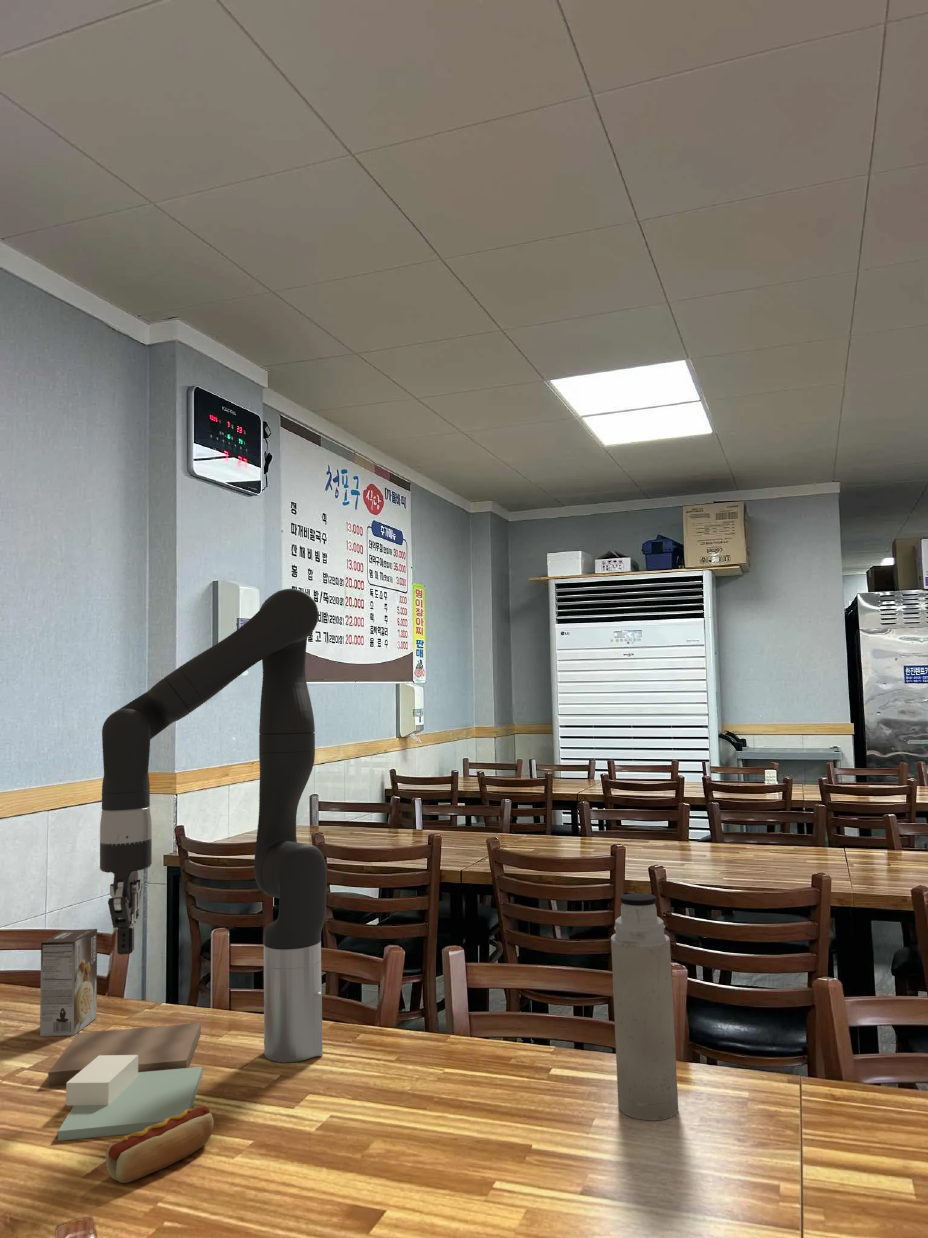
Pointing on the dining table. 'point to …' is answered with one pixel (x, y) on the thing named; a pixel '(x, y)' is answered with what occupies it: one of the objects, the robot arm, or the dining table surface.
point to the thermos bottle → (643, 1011)
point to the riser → (129, 1049)
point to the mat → (135, 1105)
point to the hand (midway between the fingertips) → (125, 952)
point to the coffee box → (68, 982)
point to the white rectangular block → (102, 1080)
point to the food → (159, 1145)
